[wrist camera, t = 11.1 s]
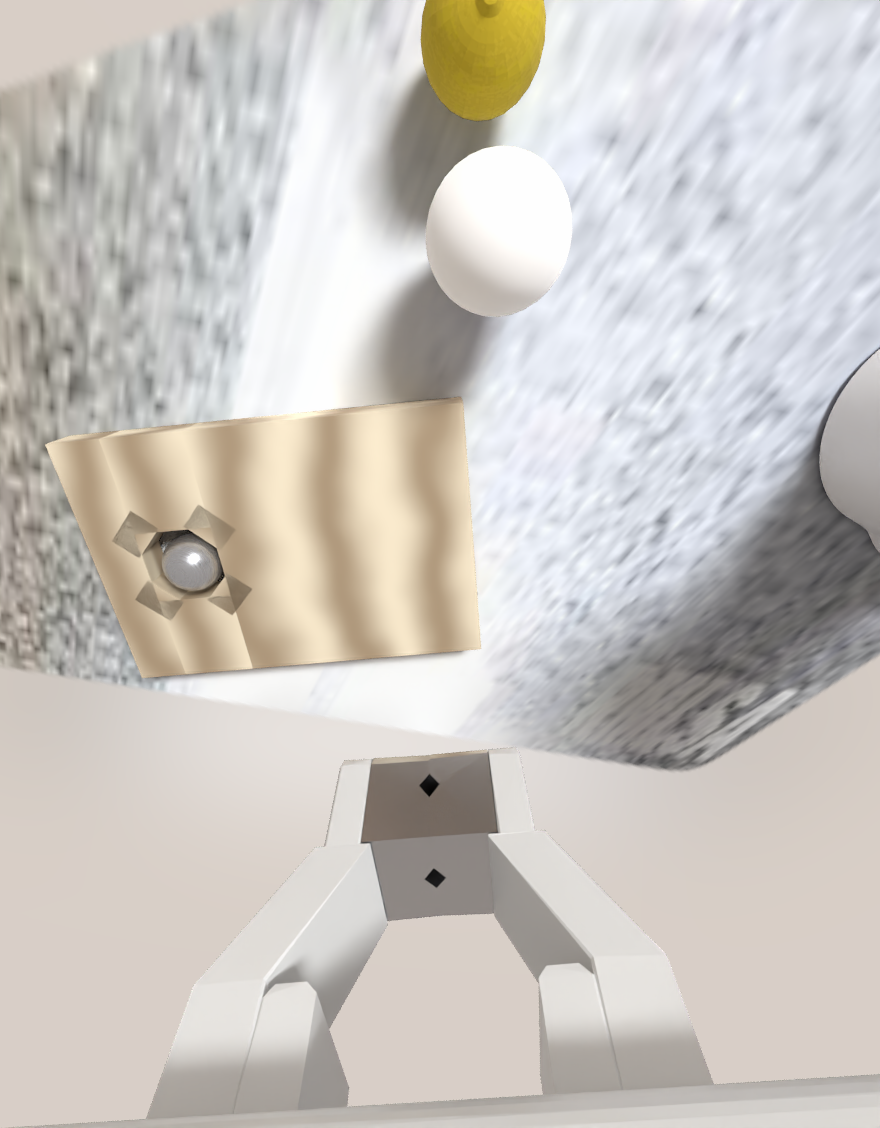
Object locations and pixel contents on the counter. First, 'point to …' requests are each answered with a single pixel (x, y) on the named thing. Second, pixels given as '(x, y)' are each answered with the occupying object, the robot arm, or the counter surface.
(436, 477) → the beige flat wooden board
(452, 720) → the counter surface
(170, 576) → the ball
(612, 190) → the counter surface
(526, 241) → the light bulb
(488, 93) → the lemon
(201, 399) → the counter surface
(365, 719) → the counter surface
